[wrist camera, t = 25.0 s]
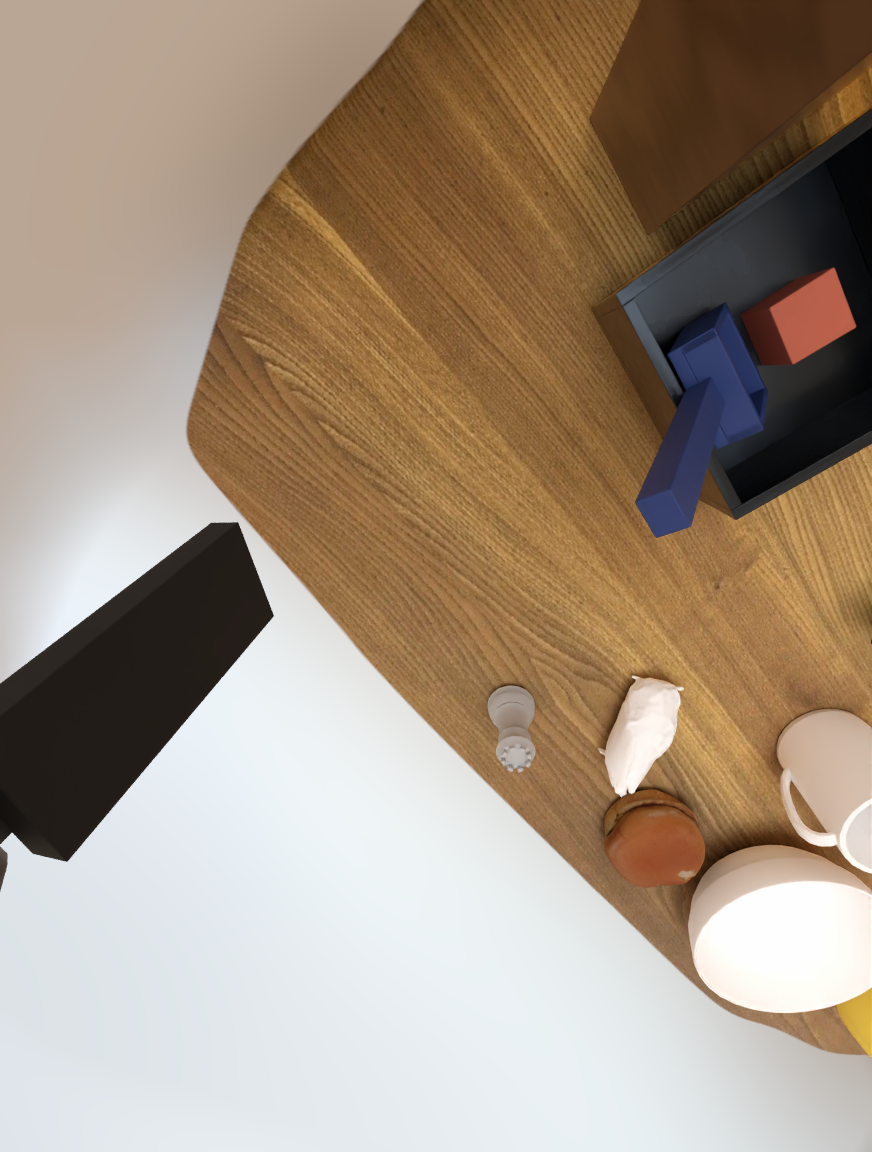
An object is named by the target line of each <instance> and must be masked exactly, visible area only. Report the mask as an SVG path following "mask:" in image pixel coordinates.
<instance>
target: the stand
mask: <svg viewBox="0 0 872 1152" xmlns="http://www.w3.org/2000/svg"><path fill="white" fill-rule="evenodd" d="M871 67H872V0H641V2H640V4H639V7H638V9H637V11H636V14H635V16H634V18H633V20H632V23H631V25H630V27H629V30H628V32H627V34H626V36H625V39H624V41H623V43H622V46H621V48H620V50H619V52H618V55H617V57H616V59H615V62H614V64H613V66H612V68H611V71H610V73H609V75H608V78H607V80H606V82H605V84H604V87H603V89H602V91H601V94H600V96H599V98H598V100H597V103H596V105H595V107H594V110H593V112H592V114H591V116H590V121H591V123H592V125H593V127H594V129H595V131H596V133H597V135H598V137H599V139H600V141H601V143H602V145H603V147H604V149H605V151H606V153H607V155H608V157H609V159H610V161H611V163H612V165H613V167H614V169H615V171H616V173H617V175H618V177H619V179H620V181H621V183H622V185H623V187H624V189H625V191H626V193H627V195H628V197H629V199H630V201H631V203H632V205H633V207H634V209H635V211H636V213H637V215H638V217H639V219H640V221H641V223H642V225H643V227H644V229H645V231H646V233H647V235H649V234H650V233H652V232H653V231H654V230H656V229H657V228H658V227H660V226H661V225H662V224H664V223H665V222H666V221H668V220H669V219H670V218H672V217H673V216H674V215H676V214H677V213H678V212H680V211H681V210H682V209H684V208H685V207H686V206H688V205H689V204H691V203H692V202H693V201H695V200H696V199H697V198H699V197H700V196H701V195H703V194H704V193H705V192H707V191H708V190H709V189H711V188H712V187H713V186H715V185H716V184H717V183H719V182H720V181H721V180H723V179H724V178H725V177H727V176H728V175H729V174H731V173H732V172H733V171H735V170H736V169H737V168H739V167H740V166H741V165H743V164H744V163H746V162H747V161H748V160H750V159H751V158H752V157H754V156H755V155H756V154H758V153H759V152H760V151H762V150H763V149H764V148H766V147H767V146H768V145H770V144H771V143H772V142H774V141H775V140H776V139H778V138H779V137H780V136H782V135H783V134H784V133H786V132H787V131H788V130H790V129H791V128H792V127H794V126H795V125H797V124H798V123H799V122H801V121H802V120H803V119H805V118H806V117H807V116H809V115H810V114H811V113H813V112H814V111H815V110H817V109H818V108H819V107H821V106H822V105H823V104H825V103H826V102H827V101H829V100H830V99H831V98H832V97H834V96H835V95H836V94H837V93H839V92H840V91H841V90H843V89H844V88H845V87H846V86H848V85H849V84H850V83H852V82H853V81H854V80H855V79H857V78H858V77H859V76H861V75H862V74H863V73H864V72H866V71H867V70H868V69H870V68H871Z"/></svg>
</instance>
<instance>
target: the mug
mask: <svg viewBox="0 0 872 1152" xmlns="http://www.w3.org/2000/svg"><path fill="white" fill-rule="evenodd" d="M776 749H777V758H778V760H779V762H780V765H781V766H782V767H783V769H784V770H783V772H782V775H781V777H780V791H781V796H782V801H783V805H784V808H785V810H786V813H787V815H788V818H789V820H790V822H791V824H792V825H793V827H794V828H795V830H796V831H797V833H798V835H799V836H801V837H802V838H803V839H805V840H806V841H807V842H809V843H811V844H814V845H817V846H835V845H836V846H837V847H838V849H839V850H840V851H841V853H842V854H843V856H844V857H845V858H846V859H847V860H848V861H849V862H850V863H851V864H852V865H853V866H855V867H857V868H859V869H861V870H863V871H865V872H869V873H872V728H871V727H870V726H869V725H868V724H866V723H865V722H864V721H863V720H862V719H860V718H859V717H857V716H856V715H854V714H852V713H850V712H847V711H843V710H839V709H821V710H815V711H812V712H809V713H806V714H804V715H801V716H800V717H798V718H797V719H795V720H793V721H792V722H791V723H790V724H789V725H788V726H787V727H786V728H785V729H784V730H783V732H782V733H781V735H780V736H779V739H778V743H777V747H776ZM791 780H792V782H793V783H794V785H795V786H796V788H797V789H798V791H799V792H800V794H801V795H802V796H803V798H804V799H805V801H806V802H807V804H808V805H809V807H810V808H811V809H812V811H813V812H814V814H815V815H816V817H817V818H818V820H819V821H820V823H821V824H822V825H823V827H824V828H825V830H826V831H827V833H819V832H816V831H813V830H811V829H809V828H808V827H807V826H806V825H804V824H803V822H802V821H801V819H800V818H799V816H798V814H797V812H796V810H795V807H794V805H793V802H792V798H791V795H790V782H791Z"/></svg>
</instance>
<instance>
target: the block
mask: <svg viewBox="0 0 872 1152" xmlns="http://www.w3.org/2000/svg"><path fill="white" fill-rule="evenodd" d="M740 316H741V318H742V320H743V323H744V325H745V327H746V330H747V332H748V334H749V337H750V339H751V341H752V344H753V346H754V348H755V351H756V353H757V355H758V358H759V360H760V362H761V364H762V366H767V365H794V364H795V363H797V362H799V361H800V360H802V359H804V358H805V357H807V356H809V355H810V354H812V353H814V352H815V351H817V350H819V349H821V348H822V347H824V346H826V345H827V344H829V343H831V342H832V341H834V340H836V339H837V338H839V337H841V336H842V335H844V334H846V333H848V332H849V331H851V330H853V329H854V328H856V324H855V322H854V319H853V316H852V314H851V311H850V308H849V306H848V303H847V300H846V297H845V295H844V292H843V289H842V287H841V284H840V281H839V279H838V276H837V273H836V271H835V268H830V269H827V270H823V271H820V272H817V273H813V274H810V275H807V276H803V277H800V278H797V279H795V280H794V281H792V282H790V283H789V284H787V285H786V286H784V287H782V288H781V289H779V290H778V291H776V292H775V293H773V294H771V295H770V296H768V297H767V298H765V299H764V300H762V301H760V302H759V303H757V304H756V305H754V306H752V307H751V308H749V309H748V310H746V311H745V312H743V313H741V314H740Z"/></svg>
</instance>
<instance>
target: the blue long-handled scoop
mask: <svg viewBox="0 0 872 1152" xmlns="http://www.w3.org/2000/svg"><path fill="white" fill-rule="evenodd" d="M667 355H668V357H669V359H670V361H671V363H672V365H673V367H674V368H675V370H676V372H677V374H678V376H679V378H680V380H681V382H682V384H683V386H684V388H685V390H686V391H685V393H684V395H683V397H682V399H681V402H680V404H679V406H678V408H677V410H676V413H675V415H674V417H673V419H672V422H671V424H670V426H669V428H668V430H667V433H666V435H665V437H664V439H663V442H662V444H661V446H660V448H659V450H658V453H657V455H656V457H655V459H654V461H653V464H652V466H651V468H650V470H649V473H648V475H647V477H646V479H645V481H644V484H643V486H642V488H641V490H640V493H639V495H638V497H637V499H636V501H635V503H636V505H637V507H638V508H639V510H640V512H641V514H642V515H643V517H644V519H645V520H646V522H647V524H648V526H649V527H650V529H651V531H652V532H653V534H654V536H655V537H656V538H658V537H661V536H664V535H667V534H670V533H673V532H676V531H679V530H682V529H685V528H688V527H690V526H691V525H692V521H693V517H694V514H695V510H696V507H697V503H698V500H699V496H700V492H701V489H702V485H703V482H704V478H705V474H706V471H707V467H708V464H709V460H710V457H711V453H712V449H713V446H714V445H715V447H716V449H719V448H721V447H724V446H726V445H728V444H729V443H730V444H731V443H733V442H736V441H738V440H740V439H743V438H745V437H748V436H750V435H752V434H755V433H757V432H760V431H762V430H764V422H765V414H766V406H767V398H768V390H767V388H766V386H765V384H764V382H763V380H762V378H761V376H760V373H759V371H758V369H757V367H756V365H755V363H754V361H753V359H752V357H751V354H750V352H749V350H748V348H747V346H746V344H745V342H744V340H743V338H742V335H741V333H740V331H739V329H738V327H737V325H736V323H735V321H734V319H733V316H732V314H731V312H730V310H729V308H728V306H727V304H726V302H724V303H722V304H721V305H719V306H717V307H716V308H714V309H712V310H711V311H709V312H707V313H706V314H704V315H702V316H701V317H699V318H697V319H696V320H694V321H692V322H691V323H689V324H687V325H686V326H684V328H683V329H682V331H681V333H680V334H679V336H678V338H677V339H676V341H675V343H674V344H673V346H672V348H671V349H670V351H669V352H668V354H667Z"/></svg>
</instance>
